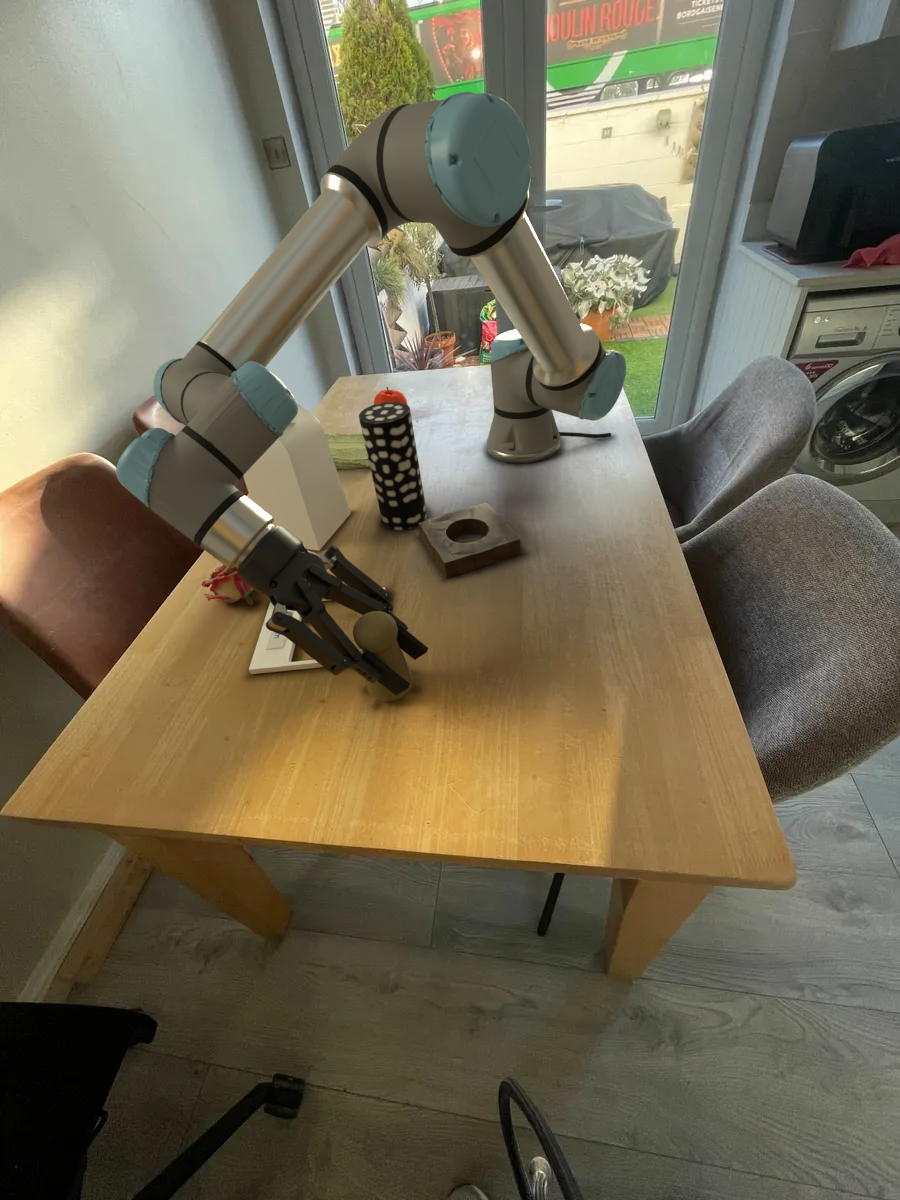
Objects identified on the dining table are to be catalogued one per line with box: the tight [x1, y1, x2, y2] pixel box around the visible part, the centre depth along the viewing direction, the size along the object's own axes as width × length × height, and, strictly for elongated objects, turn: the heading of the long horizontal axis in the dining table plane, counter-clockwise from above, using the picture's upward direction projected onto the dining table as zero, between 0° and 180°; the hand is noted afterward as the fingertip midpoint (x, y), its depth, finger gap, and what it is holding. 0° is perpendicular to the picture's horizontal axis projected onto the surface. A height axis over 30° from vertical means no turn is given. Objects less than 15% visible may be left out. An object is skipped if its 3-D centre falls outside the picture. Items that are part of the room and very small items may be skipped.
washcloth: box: [325, 432, 370, 470], centre depth 122 cm, size 13×18×3 cm
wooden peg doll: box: [352, 611, 414, 702], centre depth 67 cm, size 6×6×11 cm
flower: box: [201, 564, 256, 607], centre depth 86 cm, size 10×9×8 cm
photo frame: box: [248, 586, 387, 675], centre depth 80 cm, size 15×1×18 cm
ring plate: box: [417, 501, 522, 579], centre depth 92 cm, size 13×13×3 cm
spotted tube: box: [358, 402, 428, 531], centre depth 95 cm, size 8×8×20 cm
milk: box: [242, 403, 351, 552], centre depth 94 cm, size 12×12×26 cm
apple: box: [373, 386, 409, 406], centre depth 133 cm, size 8×8×8 cm
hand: (412, 671), depth 67 cm, fingers closed on wooden peg doll, 5 cm apart
